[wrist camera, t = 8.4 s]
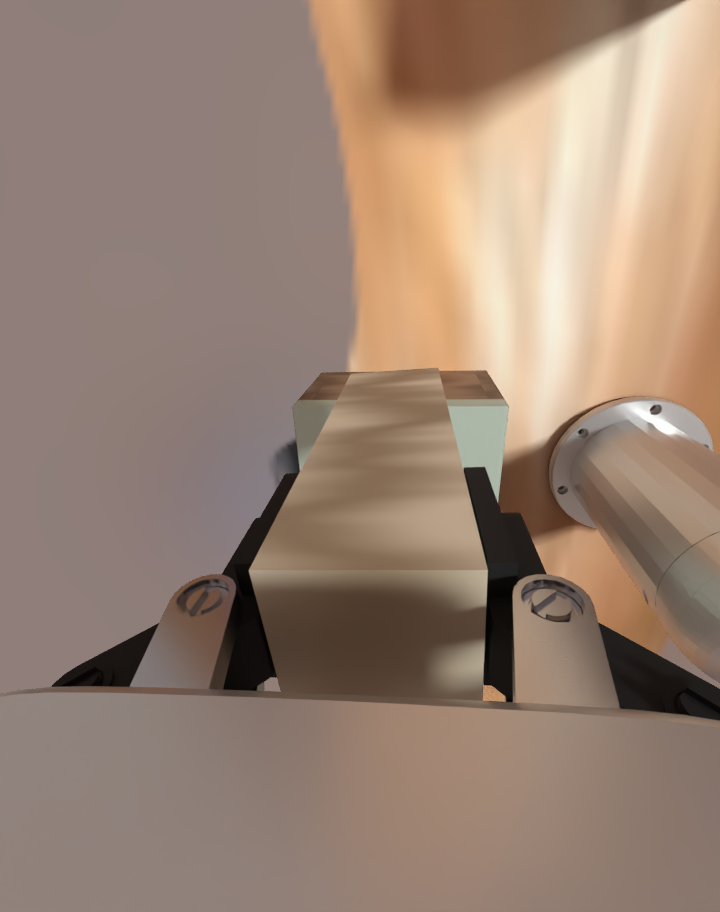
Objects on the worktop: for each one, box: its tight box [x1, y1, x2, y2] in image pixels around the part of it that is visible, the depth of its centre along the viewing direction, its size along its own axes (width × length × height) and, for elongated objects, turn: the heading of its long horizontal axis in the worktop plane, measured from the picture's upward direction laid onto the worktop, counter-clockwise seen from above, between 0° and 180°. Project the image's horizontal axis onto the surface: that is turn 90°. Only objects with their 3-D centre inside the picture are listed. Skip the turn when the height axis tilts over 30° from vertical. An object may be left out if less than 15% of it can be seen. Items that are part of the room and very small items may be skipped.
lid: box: [293, 399, 509, 502], centre depth 31 cm, size 14×26×6 cm, turn 2°
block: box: [249, 368, 488, 701], centre depth 14 cm, size 4×4×14 cm
